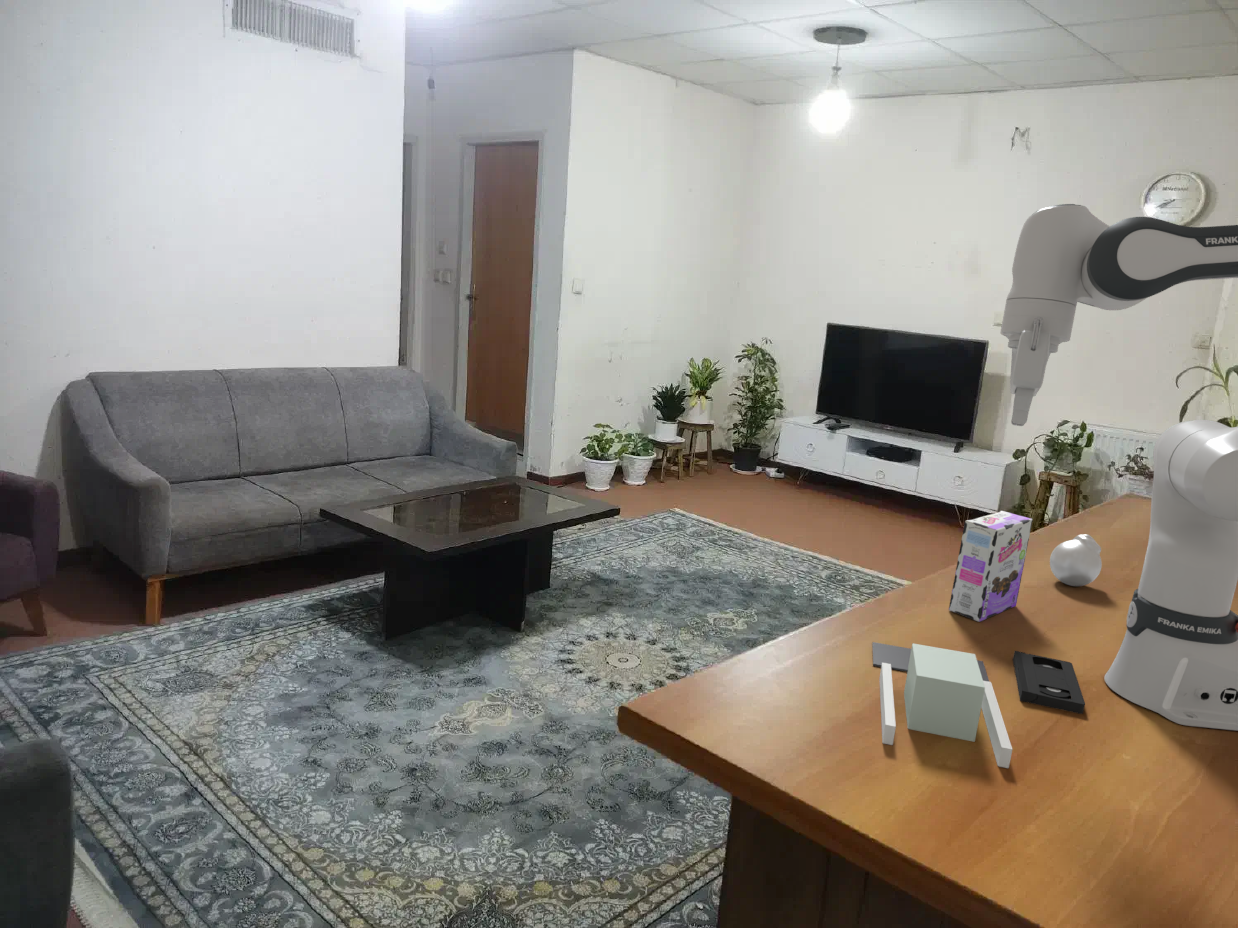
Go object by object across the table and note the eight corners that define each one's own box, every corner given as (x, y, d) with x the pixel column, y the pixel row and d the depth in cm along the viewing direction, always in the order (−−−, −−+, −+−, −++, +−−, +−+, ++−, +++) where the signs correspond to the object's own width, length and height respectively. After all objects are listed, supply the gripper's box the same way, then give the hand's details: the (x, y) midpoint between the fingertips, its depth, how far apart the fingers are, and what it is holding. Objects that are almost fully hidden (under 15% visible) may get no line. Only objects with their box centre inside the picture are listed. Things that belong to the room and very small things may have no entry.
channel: (982, 662, 133) (985, 647, 132) (1015, 769, 105) (1019, 750, 104) (872, 643, 137) (874, 628, 136) (875, 741, 108) (878, 723, 108)
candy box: (979, 623, 148) (997, 529, 144) (946, 611, 153) (963, 519, 149) (1017, 606, 157) (1034, 517, 154) (985, 595, 162) (1001, 508, 158)
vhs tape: (1082, 717, 120) (1085, 704, 119) (1019, 703, 122) (1022, 690, 122) (1069, 674, 133) (1071, 662, 132) (1012, 662, 135) (1014, 650, 135)
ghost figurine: (1108, 595, 167) (1120, 544, 165) (1058, 591, 167) (1068, 540, 165) (1085, 578, 176) (1095, 529, 173) (1037, 574, 176) (1047, 525, 173)
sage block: (965, 705, 120) (975, 654, 118) (974, 742, 110) (985, 687, 109) (903, 693, 122) (912, 643, 120) (907, 729, 112) (916, 675, 110)
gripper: (1067, 317, 112) (1046, 426, 113) (1057, 336, 130) (1039, 429, 131) (1013, 312, 114) (993, 418, 115) (1011, 331, 133) (994, 423, 134)
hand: (1018, 424), depth 123 cm, fingers open, 8 cm apart
